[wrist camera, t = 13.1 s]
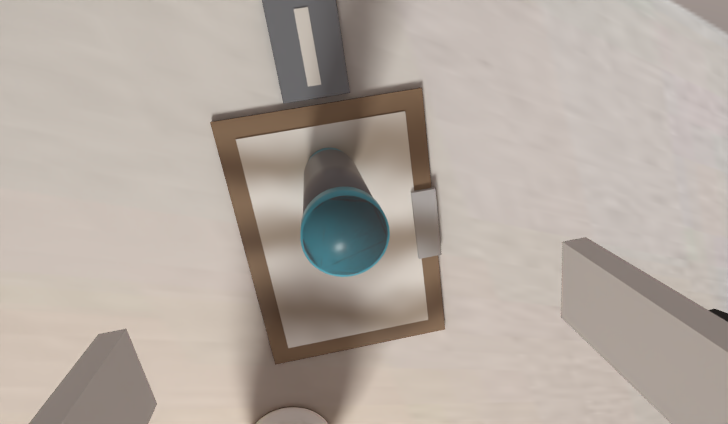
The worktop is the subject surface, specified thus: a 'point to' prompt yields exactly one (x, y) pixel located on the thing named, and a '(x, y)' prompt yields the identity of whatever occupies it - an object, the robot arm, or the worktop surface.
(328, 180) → the grey and teal cylinder
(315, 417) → the jar
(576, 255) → the robot arm
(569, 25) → the worktop surface
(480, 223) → the worktop surface
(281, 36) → the grey slotted plate
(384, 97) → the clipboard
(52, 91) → the worktop surface
